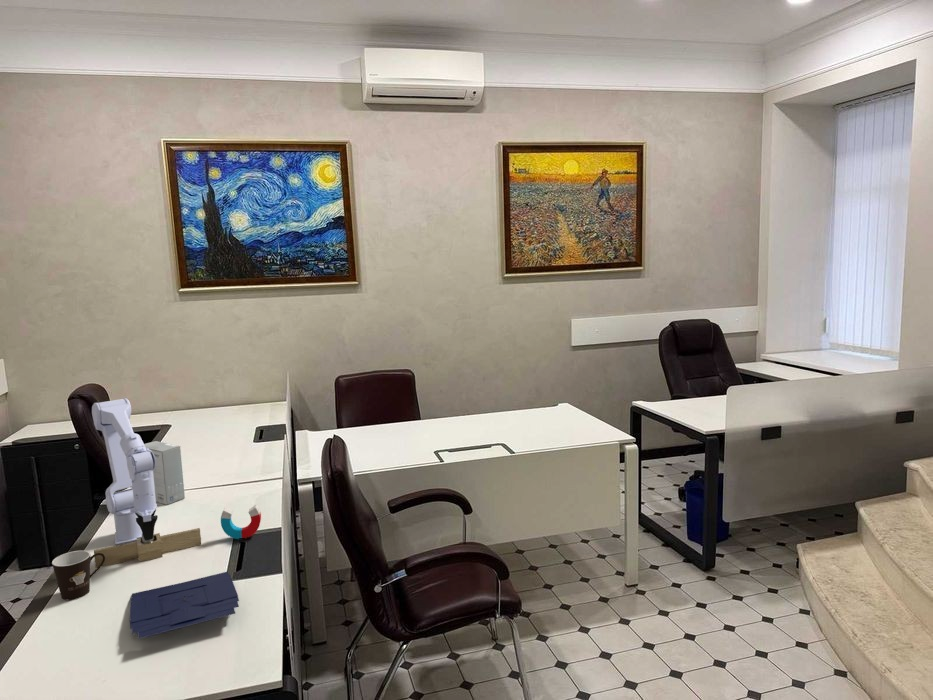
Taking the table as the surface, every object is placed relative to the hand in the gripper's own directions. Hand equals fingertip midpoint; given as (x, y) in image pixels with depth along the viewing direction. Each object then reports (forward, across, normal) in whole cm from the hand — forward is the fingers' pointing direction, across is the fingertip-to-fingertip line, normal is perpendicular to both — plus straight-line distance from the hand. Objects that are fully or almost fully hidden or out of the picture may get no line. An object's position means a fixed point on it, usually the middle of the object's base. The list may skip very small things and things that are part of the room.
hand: (148, 536), depth 188 cm
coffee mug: (+6, +14, -17) cm, 23 cm away
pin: (+6, 0, 0) cm, 6 cm away
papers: (+6, +38, +6) cm, 39 cm away
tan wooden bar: (+6, 0, 0) cm, 6 cm away
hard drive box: (+6, -48, +7) cm, 49 cm away
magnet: (+6, +2, +26) cm, 27 cm away
